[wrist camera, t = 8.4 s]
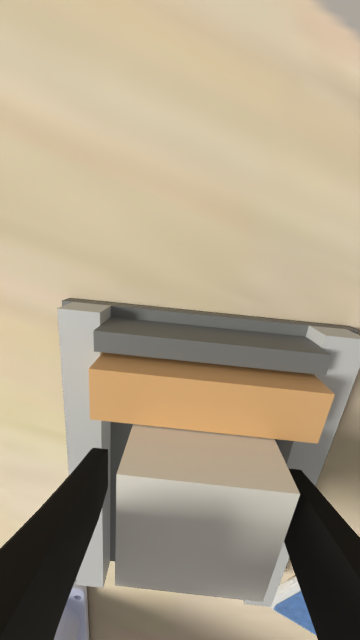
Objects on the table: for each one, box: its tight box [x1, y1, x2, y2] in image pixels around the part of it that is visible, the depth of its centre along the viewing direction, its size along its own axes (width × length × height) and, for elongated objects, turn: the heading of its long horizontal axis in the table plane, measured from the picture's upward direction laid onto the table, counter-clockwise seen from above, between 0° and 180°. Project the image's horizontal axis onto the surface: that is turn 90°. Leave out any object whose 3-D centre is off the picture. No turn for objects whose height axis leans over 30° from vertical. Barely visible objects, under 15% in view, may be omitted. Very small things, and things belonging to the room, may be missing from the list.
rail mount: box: [57, 298, 360, 607], centre depth 11 cm, size 17×13×2 cm
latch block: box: [89, 352, 335, 444], centre depth 9 cm, size 2×8×2 cm, turn 85°
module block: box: [115, 424, 300, 602], centre depth 9 cm, size 5×5×4 cm
